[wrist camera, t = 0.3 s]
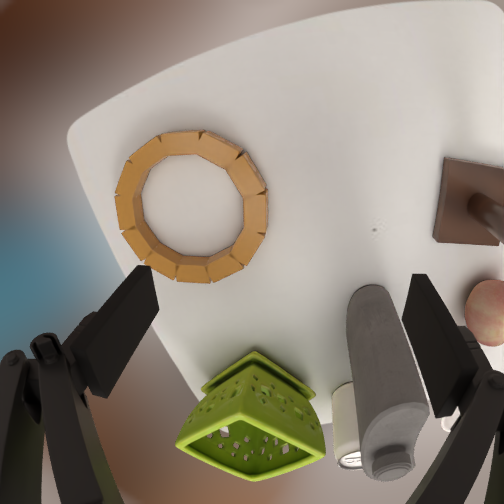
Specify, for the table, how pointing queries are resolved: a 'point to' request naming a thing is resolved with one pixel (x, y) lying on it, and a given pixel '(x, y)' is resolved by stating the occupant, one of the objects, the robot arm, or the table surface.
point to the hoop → (242, 177)
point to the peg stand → (470, 204)
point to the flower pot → (254, 421)
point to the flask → (384, 385)
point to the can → (346, 428)
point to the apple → (486, 312)
